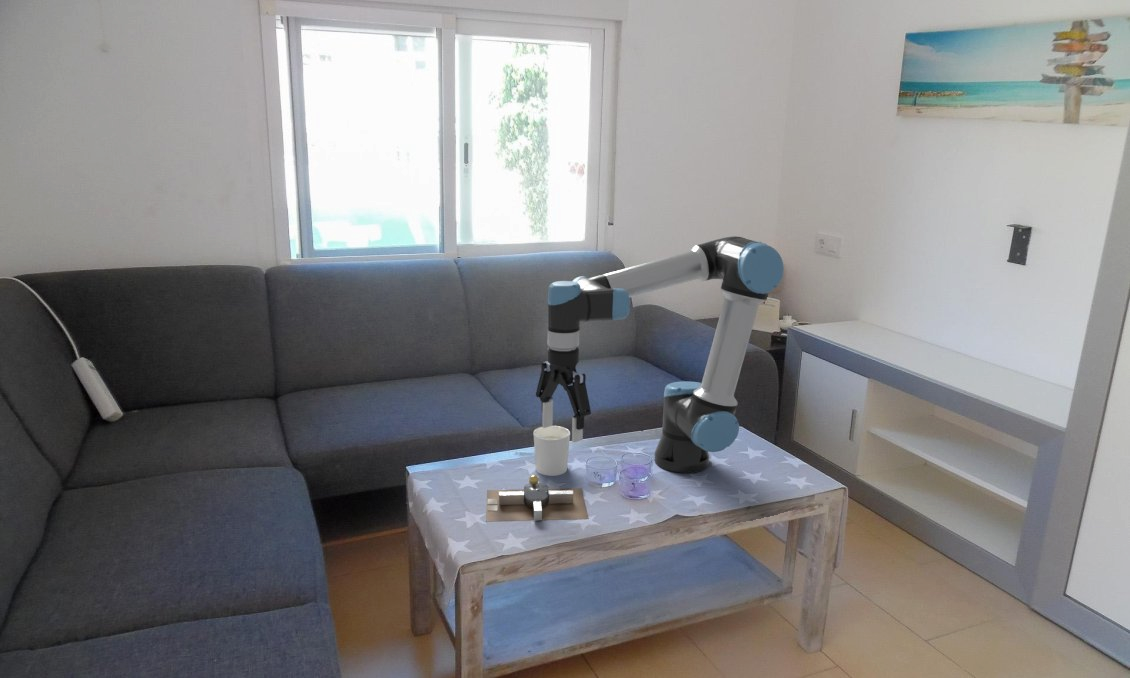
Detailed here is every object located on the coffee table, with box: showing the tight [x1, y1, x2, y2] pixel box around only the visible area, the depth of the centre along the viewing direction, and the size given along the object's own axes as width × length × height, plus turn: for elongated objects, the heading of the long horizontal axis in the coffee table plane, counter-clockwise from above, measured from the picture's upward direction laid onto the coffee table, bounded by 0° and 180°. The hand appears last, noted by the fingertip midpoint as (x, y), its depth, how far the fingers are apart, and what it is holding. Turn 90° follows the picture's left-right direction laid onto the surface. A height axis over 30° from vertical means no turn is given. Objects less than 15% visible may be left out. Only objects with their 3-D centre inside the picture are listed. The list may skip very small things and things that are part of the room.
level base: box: [485, 487, 590, 523], centre depth 189 cm, size 24×16×2 cm, turn 95°
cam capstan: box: [499, 474, 574, 521], centre depth 188 cm, size 18×18×6 cm
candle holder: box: [532, 425, 571, 477], centre depth 208 cm, size 10×10×12 cm
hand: (562, 433), depth 190 cm, fingers open, 11 cm apart
